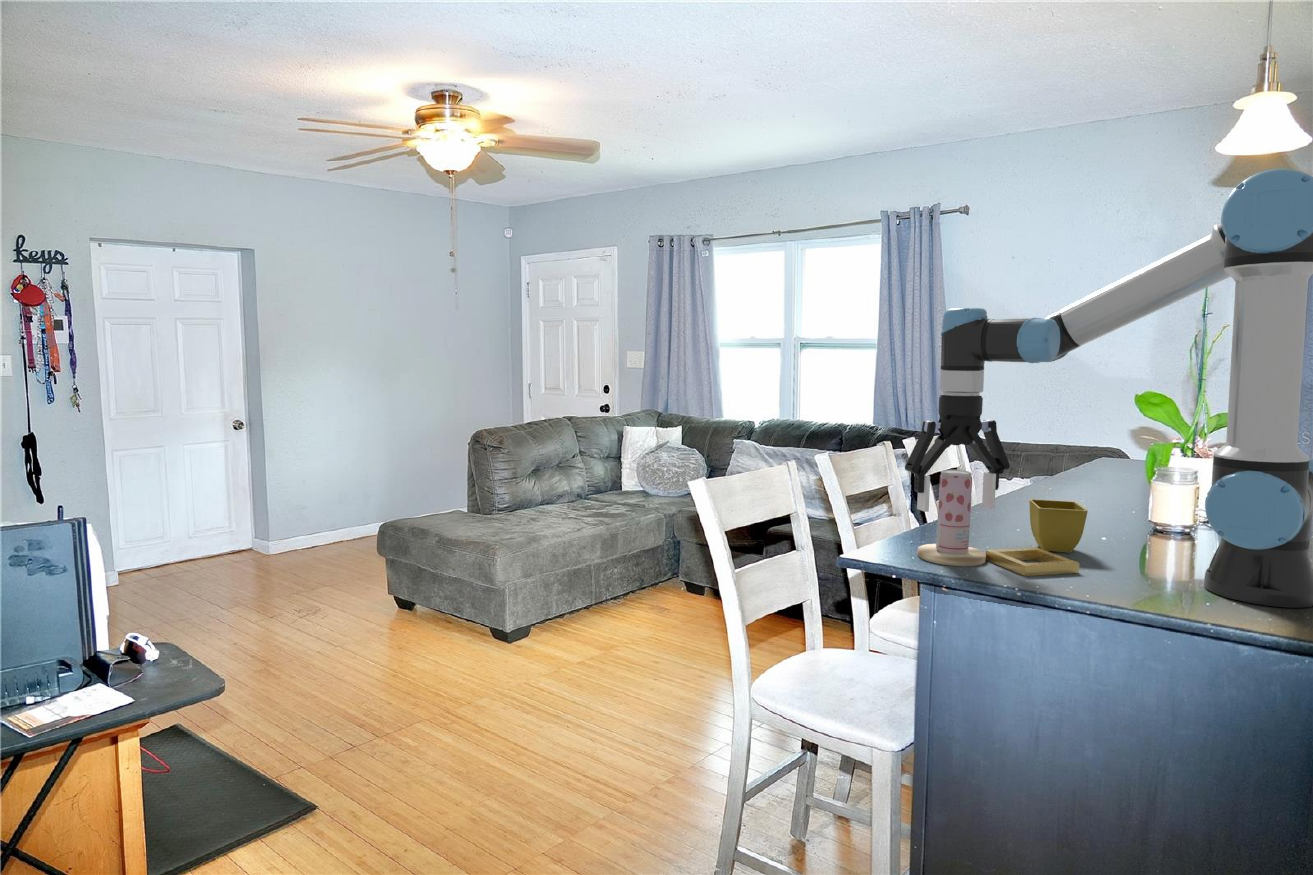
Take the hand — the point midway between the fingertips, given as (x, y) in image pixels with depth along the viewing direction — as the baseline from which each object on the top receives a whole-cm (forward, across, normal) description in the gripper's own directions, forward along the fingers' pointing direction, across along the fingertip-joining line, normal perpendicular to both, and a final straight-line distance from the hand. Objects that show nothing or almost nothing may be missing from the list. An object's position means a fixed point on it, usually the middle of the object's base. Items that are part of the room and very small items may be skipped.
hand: (955, 509), depth 157 cm
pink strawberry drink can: (+8, 0, 0) cm, 8 cm away
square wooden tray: (+9, -11, +8) cm, 16 cm away
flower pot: (+10, -24, -2) cm, 26 cm away
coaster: (+9, 0, 0) cm, 9 cm away
